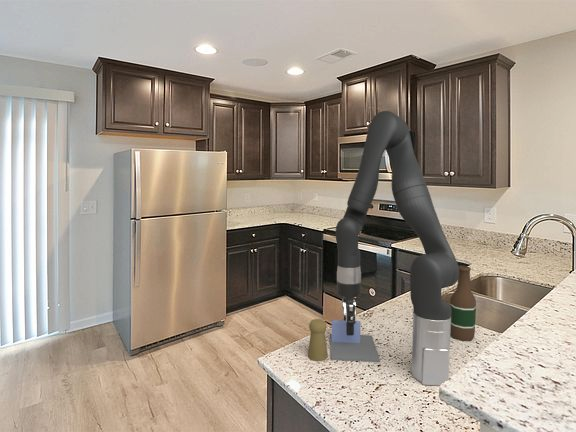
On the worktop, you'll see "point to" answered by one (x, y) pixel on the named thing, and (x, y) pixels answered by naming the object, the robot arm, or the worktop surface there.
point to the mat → (355, 350)
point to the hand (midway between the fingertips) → (348, 329)
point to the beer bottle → (463, 308)
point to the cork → (317, 341)
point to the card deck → (344, 332)
